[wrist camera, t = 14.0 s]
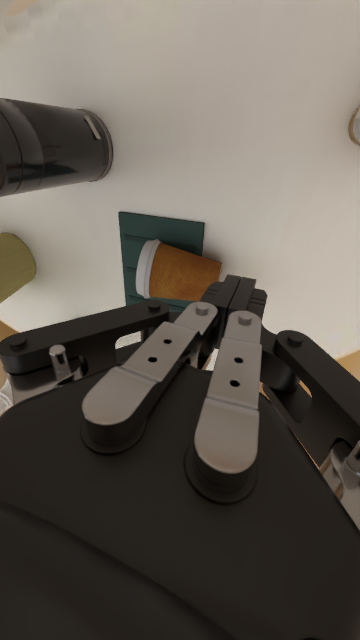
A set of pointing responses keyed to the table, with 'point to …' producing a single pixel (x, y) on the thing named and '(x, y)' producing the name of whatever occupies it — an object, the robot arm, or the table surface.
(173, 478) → the robot arm
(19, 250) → the potted cactus
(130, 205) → the table surface
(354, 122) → the sprinkles bottle
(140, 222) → the mat
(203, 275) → the disposable coffee cup
